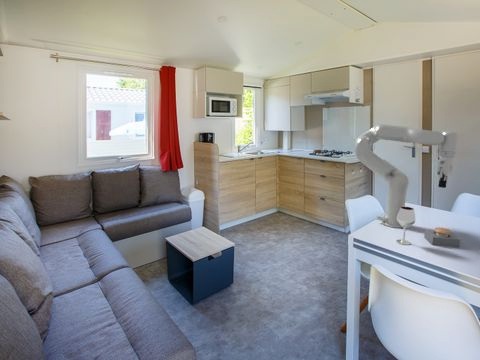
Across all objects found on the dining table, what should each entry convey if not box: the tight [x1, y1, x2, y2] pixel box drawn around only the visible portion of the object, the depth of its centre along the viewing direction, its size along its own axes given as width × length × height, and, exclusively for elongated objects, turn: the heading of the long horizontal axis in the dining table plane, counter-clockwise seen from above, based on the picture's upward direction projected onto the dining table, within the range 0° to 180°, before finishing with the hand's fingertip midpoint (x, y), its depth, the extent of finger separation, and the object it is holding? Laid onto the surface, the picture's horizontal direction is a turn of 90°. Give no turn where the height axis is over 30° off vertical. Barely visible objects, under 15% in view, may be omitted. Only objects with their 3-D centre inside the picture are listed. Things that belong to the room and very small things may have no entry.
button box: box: [423, 229, 461, 248], centre depth 150 cm, size 12×10×4 cm
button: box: [434, 227, 452, 237], centre depth 150 cm, size 7×7×5 cm
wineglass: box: [396, 206, 416, 246], centre depth 148 cm, size 8×8×18 cm
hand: (442, 187), depth 165 cm, fingers closed
